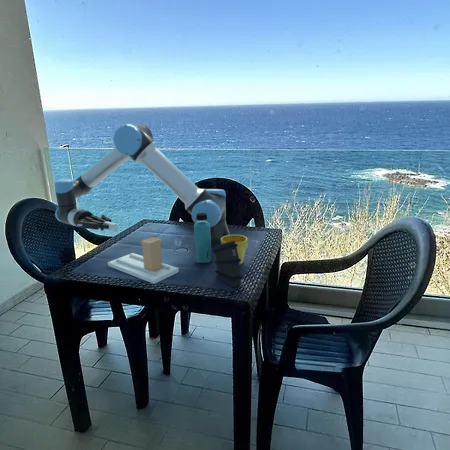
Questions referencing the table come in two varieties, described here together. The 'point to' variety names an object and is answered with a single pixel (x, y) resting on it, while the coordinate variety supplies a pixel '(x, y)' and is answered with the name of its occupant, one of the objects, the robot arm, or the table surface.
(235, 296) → the table surface
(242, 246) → the plant pot
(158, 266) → the switch tab
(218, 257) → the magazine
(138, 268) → the switch panel
